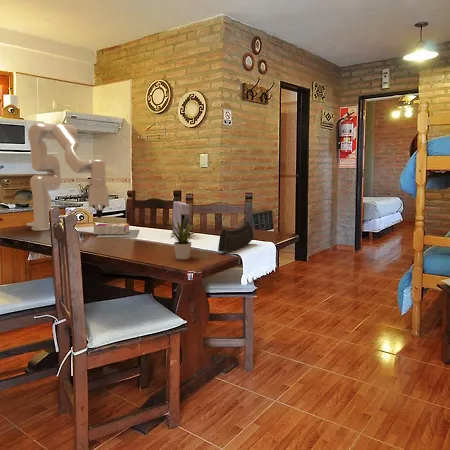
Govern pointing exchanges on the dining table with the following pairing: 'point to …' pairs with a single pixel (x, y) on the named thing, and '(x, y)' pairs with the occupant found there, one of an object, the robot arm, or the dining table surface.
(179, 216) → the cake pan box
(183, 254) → the house plant
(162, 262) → the dining table surface
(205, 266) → the dining table surface
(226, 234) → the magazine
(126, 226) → the candy bar box
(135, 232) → the mat
